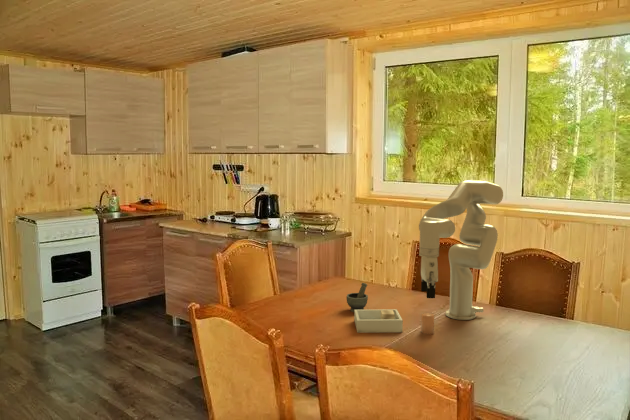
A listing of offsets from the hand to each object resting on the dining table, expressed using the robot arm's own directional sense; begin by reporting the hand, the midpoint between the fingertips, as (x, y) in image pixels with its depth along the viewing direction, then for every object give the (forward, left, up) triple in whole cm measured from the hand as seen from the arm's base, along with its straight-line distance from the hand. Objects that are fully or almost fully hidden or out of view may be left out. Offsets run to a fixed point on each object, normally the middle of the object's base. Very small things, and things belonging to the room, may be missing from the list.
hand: (427, 294), depth 204 cm
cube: (+15, -7, -14) cm, 22 cm away
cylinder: (0, 0, -15) cm, 15 cm away
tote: (+19, -7, -15) cm, 25 cm away
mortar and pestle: (+25, -29, -16) cm, 41 cm away
